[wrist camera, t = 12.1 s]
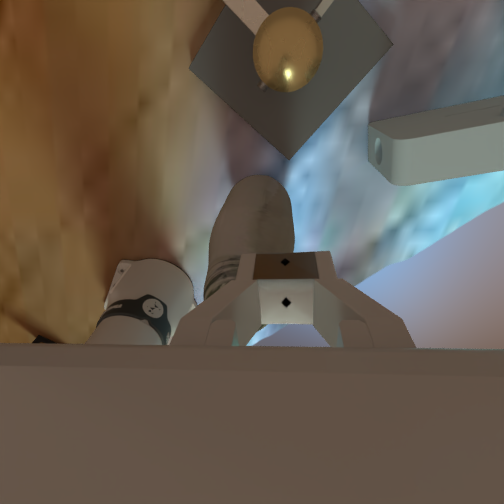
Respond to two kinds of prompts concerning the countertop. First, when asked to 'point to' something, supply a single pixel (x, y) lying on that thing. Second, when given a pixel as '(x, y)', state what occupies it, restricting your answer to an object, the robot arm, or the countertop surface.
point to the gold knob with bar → (282, 44)
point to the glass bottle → (249, 228)
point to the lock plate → (309, 96)
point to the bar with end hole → (439, 143)
